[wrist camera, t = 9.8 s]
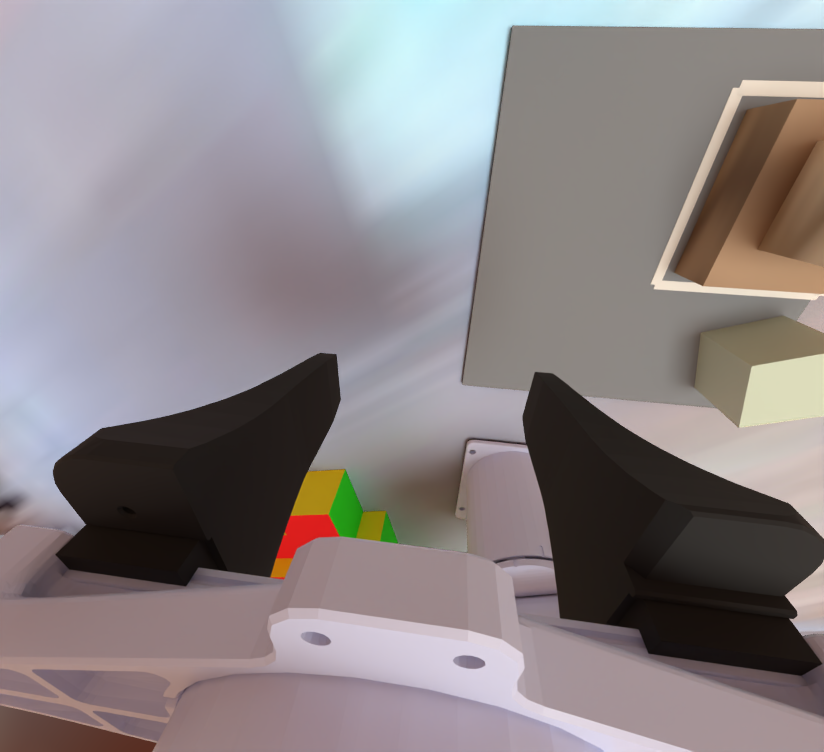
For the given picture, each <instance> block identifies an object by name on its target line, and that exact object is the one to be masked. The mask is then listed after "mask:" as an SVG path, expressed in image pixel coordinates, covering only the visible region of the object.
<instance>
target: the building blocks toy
mask: <svg viewBox="0 0 824 752" xmlns="http://www.w3.org/2000/svg"><path fill="white" fill-rule="evenodd" d="M319 537H350V538H358V539H365V540H373V541H381V542H389V543H396V544H398V542H397V539H396V536H395V534H394V531H393V528H392V526H391V523H390V520H389V517H388V515H387V512H386V511H371V512H363V510H362V508H361V505H360V503H359V501H358V498H357V496H356V494H355V491H354V489H353V486H352V484H351V482H350V479H349V477H348V475H347V472H346V470H345V469H341V470H325V471H309V472H307V474H306V476H305V478H304V481H303V483H302V486H301V489H300V491H299V494H298V496H297V499H296V502H295V504H294V507H293V510H292V513H291V516H290V518H289V521H288V524H287V527H286V530H285V533H284V536H283V539H282V542H281V545H280V548H279V551H278V554H277V557H276V560H275V564H274V567H273V570H272V574H271V577H270V578H277V579H285V576H286V574H287V572H288V569H289V567H290V564H291V562H292V560H293V557H294V555H295V552H296V550H297V548H299V547H301V546H303V545H305V544H306V543H308V542H310V541H312V540H314V539H316V538H319Z"/></svg>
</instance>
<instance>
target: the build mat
mask: <svg viewBox="0 0 824 752" xmlns="http://www.w3.org/2000/svg"><path fill="white" fill-rule="evenodd" d="M795 99H818V100H824V29H757V28H672V27H587V26H513V27H512V31H511V38H510V45H509V52H508V59H507V67H506V74H505V81H504V88H503V95H502V102H501V109H500V116H499V124H498V131H497V138H496V145H495V152H494V159H493V166H492V174H491V181H490V188H489V195H488V202H487V209H486V216H485V224H484V231H483V238H482V245H481V252H480V259H479V266H478V274H477V281H476V288H475V295H474V302H473V309H472V316H471V323H470V331H469V338H468V345H467V352H466V359H465V366H464V373H463V381H462V385H468V386H479V387H490V388H501V389H512V390H523V391H530V388H531V384H532V380H533V377H534V373H535V372H544V373H553V374H554V375H556V376H557V377H559V378H560V379H561V380H563V381H564V382H565V383H566V384H568V385H569V386H570V387H571V388H572V389H574V390H575V391H576V392H577V393H579V394H580V395H581V396H588V397H599V398H610V399H621V400H632V401H643V402H653V403H664V404H675V405H686V406H697V407H708V408H716V407H715V406H714V405H713V404H712V403H711V402H710V401H709V400H708V399H706V398H705V397H704V396H703V395H702V394H701V393H700V392H699V391H698V390H697V389H695V388H694V386H695V378H696V369H697V361H698V352H699V344H700V335H701V333H702V332H706V331H711V330H716V329H721V328H726V327H731V326H736V325H741V324H746V323H750V322H755V321H760V320H765V319H770V318H775V317H780V316H786V317H788V318H790V319H792V320H795V321H797V319H798V318H799V316H800V315H801V314H802V312H803V311H804V309H805V308H806V306H807V305H808V303H809V302H810V301H811V300H816V299H817V297H818V296H824V294H813V293H798V292H783V291H768V290H753V289H738V288H722V287H707V286H701V285H699V284H697V283H695V282H693V281H691V280H688V279H686V278H684V277H682V276H680V275H678V274H676V273H674V272H675V269H676V267H677V265H678V263H679V260H680V258H681V256H682V254H683V252H684V249H685V247H686V245H687V243H688V240H689V238H690V236H691V234H692V231H693V229H694V227H695V225H696V223H697V220H698V218H699V216H700V214H701V211H702V209H703V207H704V205H705V202H706V200H707V198H708V196H709V194H710V191H711V189H712V187H713V185H714V182H715V180H716V178H717V176H718V173H719V171H720V169H721V167H722V165H723V162H724V160H725V158H726V156H727V153H728V151H729V149H730V147H731V145H732V142H733V140H734V138H735V136H736V133H737V131H738V129H739V127H740V124H741V122H742V120H743V118H744V116H745V113H746V111H747V109H752V108H757V107H761V106H766V105H771V104H776V103H780V102H785V101H790V100H795Z"/></svg>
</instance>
